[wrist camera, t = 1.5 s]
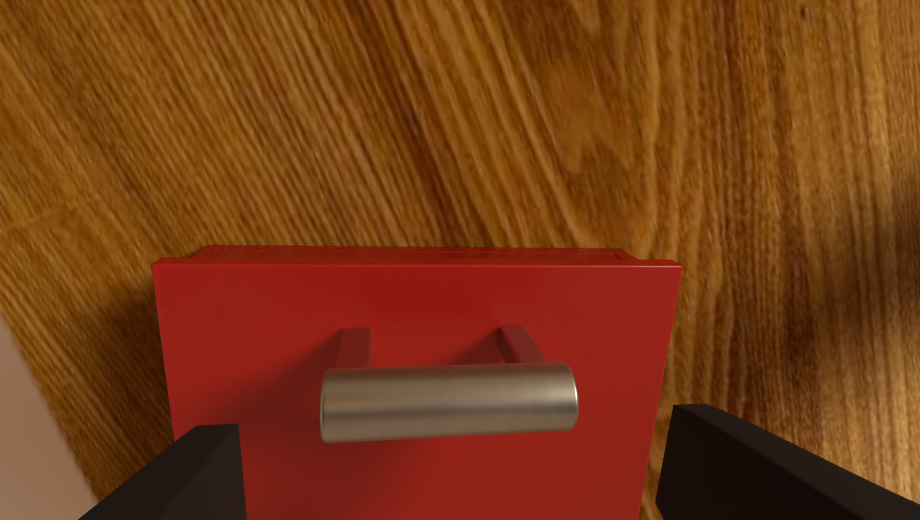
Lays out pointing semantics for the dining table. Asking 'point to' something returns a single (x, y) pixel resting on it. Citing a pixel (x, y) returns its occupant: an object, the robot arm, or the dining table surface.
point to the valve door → (423, 381)
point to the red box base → (408, 252)
